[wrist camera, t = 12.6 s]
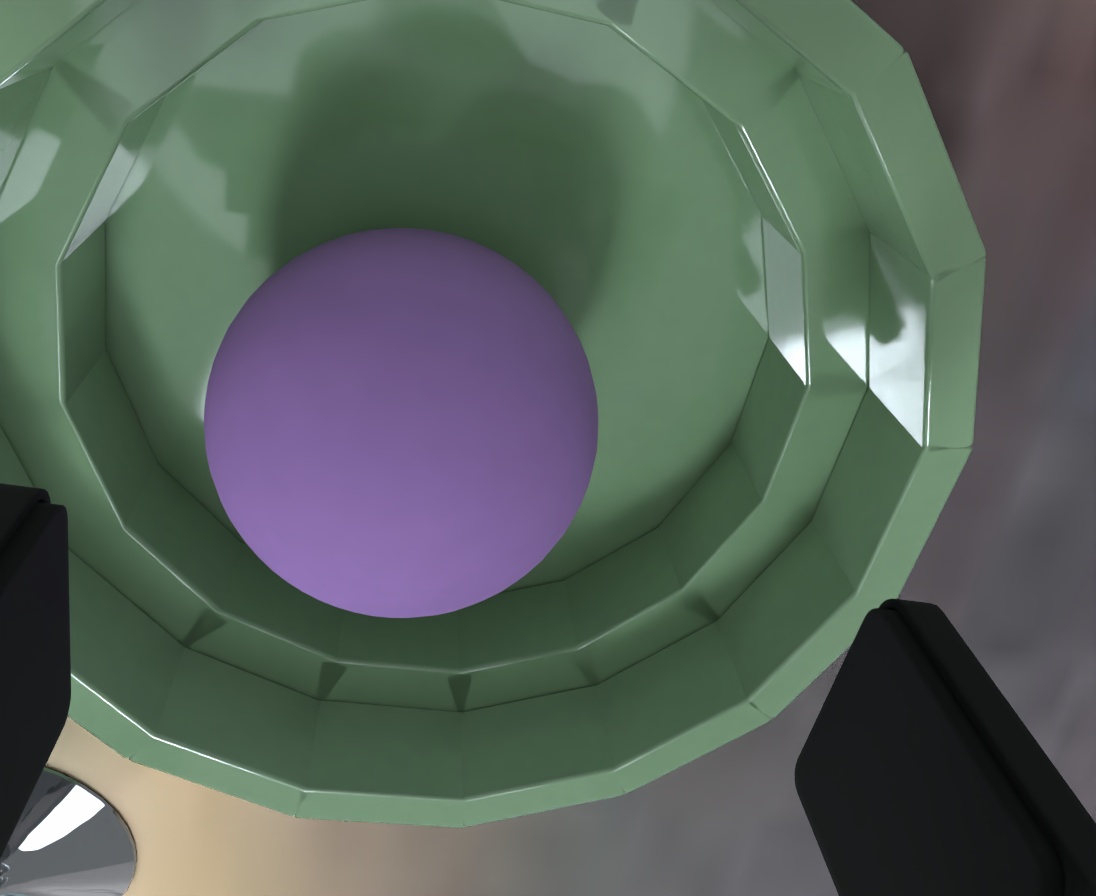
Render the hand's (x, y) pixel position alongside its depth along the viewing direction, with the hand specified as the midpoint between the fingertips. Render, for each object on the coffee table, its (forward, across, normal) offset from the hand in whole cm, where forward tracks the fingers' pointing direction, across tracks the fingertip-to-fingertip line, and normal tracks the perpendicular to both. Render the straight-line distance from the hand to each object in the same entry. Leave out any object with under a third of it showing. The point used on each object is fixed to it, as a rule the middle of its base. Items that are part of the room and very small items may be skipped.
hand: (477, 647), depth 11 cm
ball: (+8, 0, -1) cm, 8 cm away
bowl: (+8, 0, -1) cm, 8 cm away
